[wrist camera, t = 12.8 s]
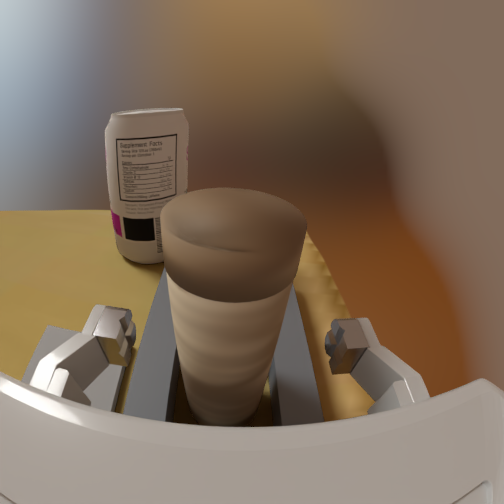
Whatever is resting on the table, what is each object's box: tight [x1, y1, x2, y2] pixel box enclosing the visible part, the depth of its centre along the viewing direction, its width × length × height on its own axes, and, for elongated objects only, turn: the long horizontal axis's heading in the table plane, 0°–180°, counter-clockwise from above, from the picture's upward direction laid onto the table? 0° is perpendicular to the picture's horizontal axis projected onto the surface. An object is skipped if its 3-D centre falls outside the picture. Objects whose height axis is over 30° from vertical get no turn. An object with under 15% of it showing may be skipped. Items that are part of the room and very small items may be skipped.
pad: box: [21, 325, 131, 412], centre depth 14 cm, size 8×8×1 cm
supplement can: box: [105, 108, 189, 264], centre depth 25 cm, size 8×8×15 cm
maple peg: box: [160, 188, 307, 427], centre depth 12 cm, size 4×4×13 cm
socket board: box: [123, 267, 324, 426], centre depth 15 cm, size 24×11×3 cm, turn 3°
